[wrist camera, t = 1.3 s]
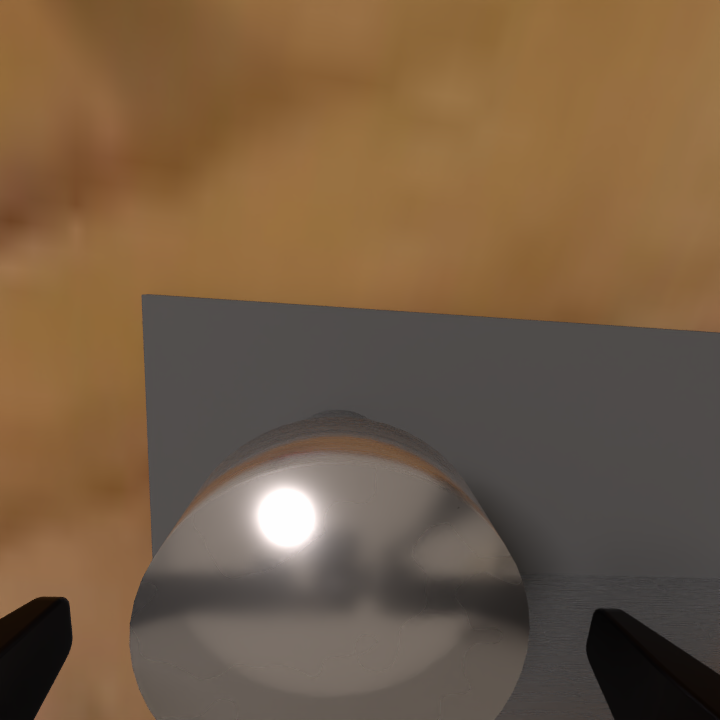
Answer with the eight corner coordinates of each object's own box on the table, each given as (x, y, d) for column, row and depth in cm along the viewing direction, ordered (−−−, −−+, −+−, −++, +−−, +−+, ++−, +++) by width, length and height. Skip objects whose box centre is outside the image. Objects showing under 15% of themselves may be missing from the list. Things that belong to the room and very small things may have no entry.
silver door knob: (444, 372, 12) (560, 473, 6) (424, 551, 13) (500, 796, 7) (239, 360, 12) (118, 455, 5) (237, 546, 13) (138, 799, 7)
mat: (820, 339, 13) (835, 341, 13) (671, 822, 17) (678, 835, 17) (148, 294, 12) (141, 294, 11) (168, 831, 16) (164, 845, 16)
